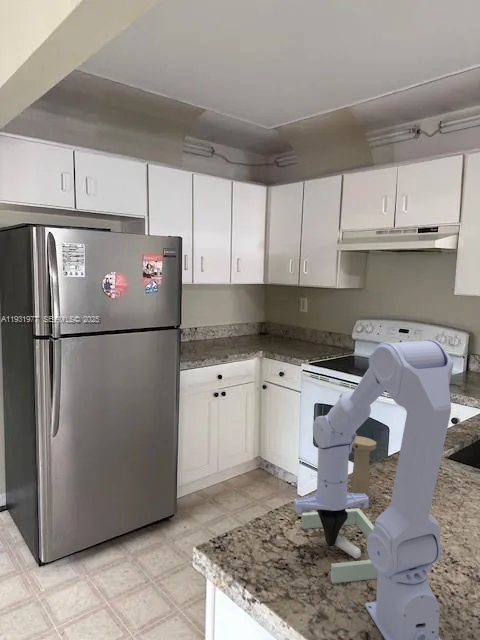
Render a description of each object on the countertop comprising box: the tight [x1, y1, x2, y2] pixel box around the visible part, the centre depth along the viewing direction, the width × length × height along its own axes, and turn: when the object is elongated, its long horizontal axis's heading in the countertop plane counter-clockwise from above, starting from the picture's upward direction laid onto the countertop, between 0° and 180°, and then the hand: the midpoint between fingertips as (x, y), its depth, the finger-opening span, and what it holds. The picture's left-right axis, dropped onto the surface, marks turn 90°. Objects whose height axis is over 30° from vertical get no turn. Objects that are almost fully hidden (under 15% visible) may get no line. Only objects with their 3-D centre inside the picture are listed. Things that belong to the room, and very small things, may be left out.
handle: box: [351, 435, 377, 497], centre depth 107 cm, size 5×6×15 cm
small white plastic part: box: [335, 535, 363, 559], centre depth 87 cm, size 4×6×3 cm, turn 23°
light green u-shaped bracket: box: [300, 507, 378, 584], centre depth 89 cm, size 18×13×3 cm
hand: (329, 543), depth 88 cm, fingers closed
